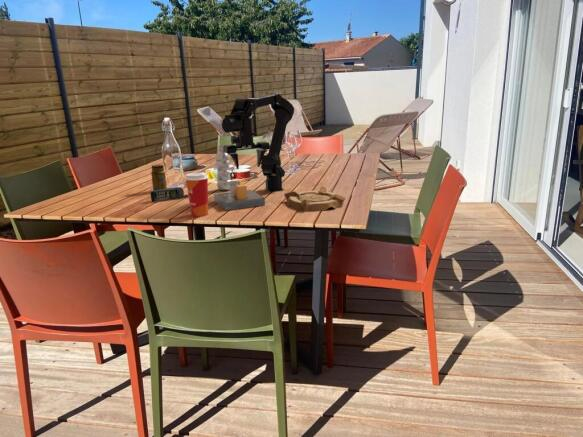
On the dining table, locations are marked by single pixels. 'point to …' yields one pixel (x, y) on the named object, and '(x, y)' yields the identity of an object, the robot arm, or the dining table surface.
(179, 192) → the dark grey elongated bar
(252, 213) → the dining table surface
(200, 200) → the coffee cup
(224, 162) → the plastic bottle
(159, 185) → the condiment
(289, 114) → the robot arm
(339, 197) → the ashtray
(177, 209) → the dining table surface
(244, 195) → the orange rectangular block
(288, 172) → the dining table surface
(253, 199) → the grey slotted base plate
